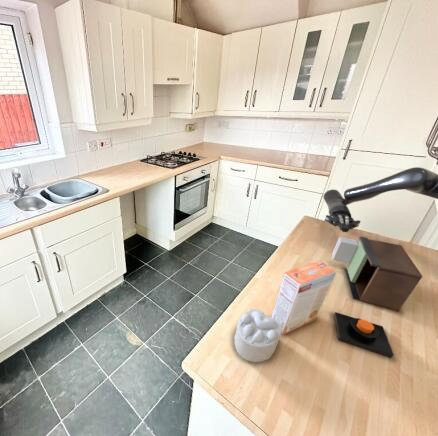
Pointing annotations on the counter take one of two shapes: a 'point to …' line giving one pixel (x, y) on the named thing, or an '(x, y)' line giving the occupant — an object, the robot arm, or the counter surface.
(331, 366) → the counter surface
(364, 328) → the button
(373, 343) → the button box
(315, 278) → the cracker box
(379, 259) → the cupboard
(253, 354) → the lumpy-topped squat cylinder
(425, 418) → the counter surface
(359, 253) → the door
